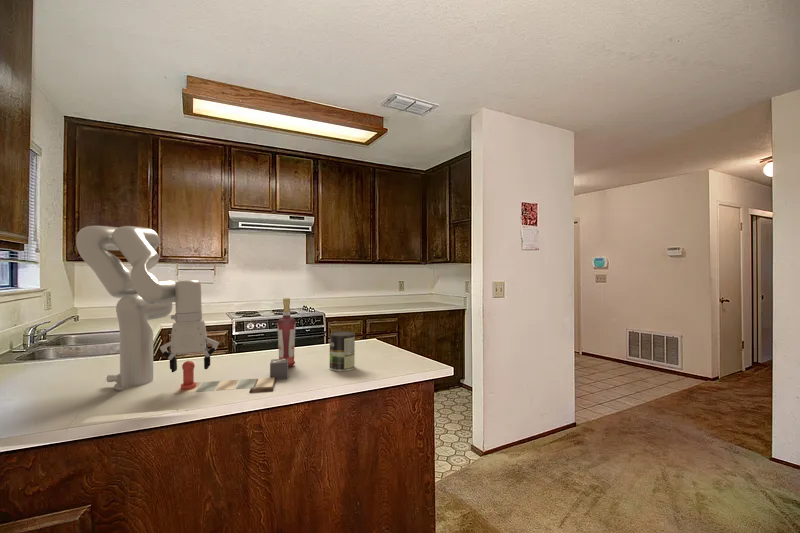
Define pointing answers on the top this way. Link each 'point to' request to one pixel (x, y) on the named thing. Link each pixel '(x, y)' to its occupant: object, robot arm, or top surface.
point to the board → (254, 384)
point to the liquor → (286, 334)
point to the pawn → (188, 376)
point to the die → (279, 368)
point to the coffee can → (342, 351)
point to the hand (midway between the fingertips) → (190, 369)
